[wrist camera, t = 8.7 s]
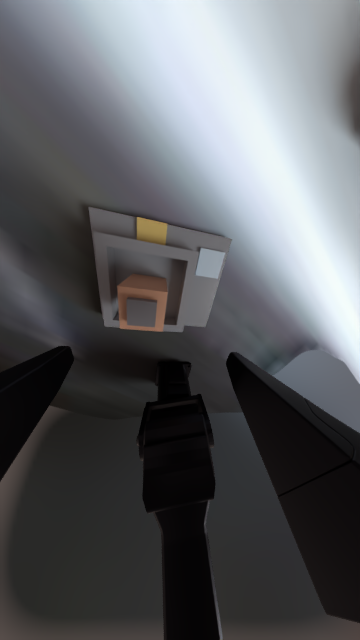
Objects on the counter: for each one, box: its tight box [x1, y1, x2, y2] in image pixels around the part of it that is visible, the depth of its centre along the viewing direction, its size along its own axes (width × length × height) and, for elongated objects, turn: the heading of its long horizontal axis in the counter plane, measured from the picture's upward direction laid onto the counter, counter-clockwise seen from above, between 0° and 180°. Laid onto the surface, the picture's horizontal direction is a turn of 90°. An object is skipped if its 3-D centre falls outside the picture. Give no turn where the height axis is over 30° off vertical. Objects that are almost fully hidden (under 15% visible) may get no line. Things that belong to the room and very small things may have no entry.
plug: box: [117, 274, 168, 332], centre depth 14 cm, size 4×4×7 cm
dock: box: [89, 207, 232, 332], centre depth 16 cm, size 12×15×3 cm
